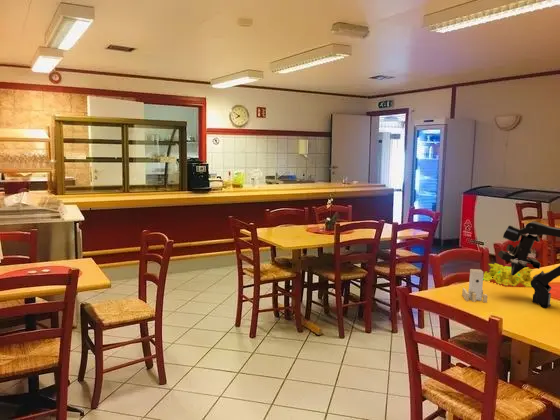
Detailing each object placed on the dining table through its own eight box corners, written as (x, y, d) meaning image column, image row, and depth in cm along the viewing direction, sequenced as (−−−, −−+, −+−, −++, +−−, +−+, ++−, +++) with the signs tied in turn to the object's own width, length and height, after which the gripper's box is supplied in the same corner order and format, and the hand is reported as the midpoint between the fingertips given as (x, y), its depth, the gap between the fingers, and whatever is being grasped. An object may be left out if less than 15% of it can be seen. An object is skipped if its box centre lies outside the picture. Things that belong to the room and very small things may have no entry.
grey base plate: (498, 298, 229) (499, 289, 229) (505, 306, 218) (506, 297, 217) (461, 296, 233) (462, 287, 232) (466, 303, 221) (467, 294, 220)
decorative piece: (537, 265, 268) (534, 276, 243) (536, 279, 269) (532, 291, 244) (488, 259, 282) (480, 269, 256) (488, 272, 283) (479, 283, 257)
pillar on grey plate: (479, 297, 228) (481, 269, 226) (481, 300, 223) (483, 272, 221) (468, 296, 229) (470, 268, 227) (470, 299, 224) (472, 271, 222)
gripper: (536, 245, 230) (523, 273, 235) (499, 235, 230) (488, 263, 235) (546, 253, 219) (533, 282, 224) (508, 243, 220) (496, 272, 224)
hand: (512, 275), depth 227 cm, fingers closed
